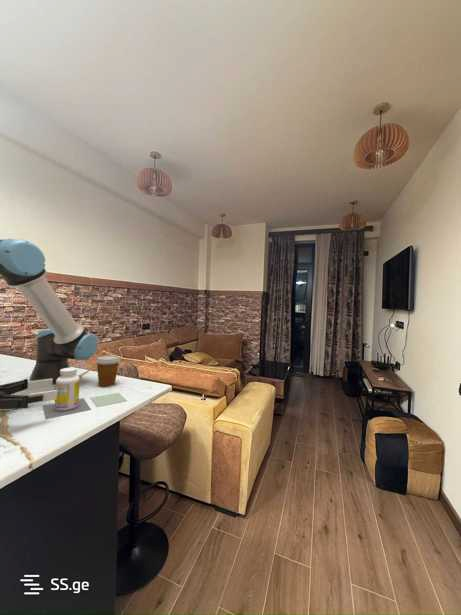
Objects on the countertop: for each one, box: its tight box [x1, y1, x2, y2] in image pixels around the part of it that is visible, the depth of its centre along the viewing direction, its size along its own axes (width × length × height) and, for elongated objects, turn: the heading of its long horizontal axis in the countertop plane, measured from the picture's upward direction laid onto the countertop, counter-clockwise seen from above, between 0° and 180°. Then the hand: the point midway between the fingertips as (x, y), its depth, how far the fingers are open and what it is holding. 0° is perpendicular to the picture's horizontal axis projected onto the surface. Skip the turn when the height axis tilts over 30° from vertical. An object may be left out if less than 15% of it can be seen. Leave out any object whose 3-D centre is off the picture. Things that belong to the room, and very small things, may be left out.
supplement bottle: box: [54, 367, 81, 411], centre depth 80 cm, size 7×7×13 cm
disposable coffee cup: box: [95, 355, 121, 388], centre depth 105 cm, size 10×10×12 cm
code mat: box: [42, 397, 92, 420], centre depth 80 cm, size 12×12×1 cm
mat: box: [90, 392, 128, 408], centre depth 89 cm, size 10×10×1 cm
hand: (54, 388), depth 78 cm, fingers open, 13 cm apart
